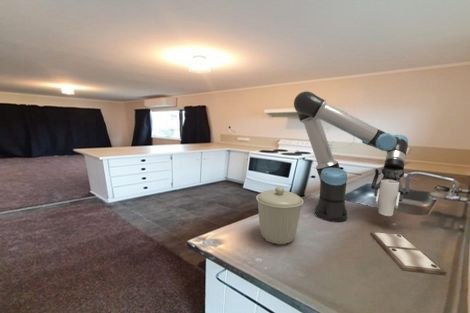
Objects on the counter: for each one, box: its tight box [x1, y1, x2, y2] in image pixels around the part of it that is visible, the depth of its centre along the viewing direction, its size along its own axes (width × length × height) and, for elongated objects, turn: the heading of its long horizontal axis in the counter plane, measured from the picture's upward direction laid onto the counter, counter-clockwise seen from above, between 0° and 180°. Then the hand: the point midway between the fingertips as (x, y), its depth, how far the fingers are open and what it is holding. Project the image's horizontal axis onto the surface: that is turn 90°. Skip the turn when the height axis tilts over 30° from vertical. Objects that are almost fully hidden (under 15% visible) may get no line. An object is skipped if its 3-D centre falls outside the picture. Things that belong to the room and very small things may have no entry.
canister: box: [255, 186, 304, 245], centre depth 86 cm, size 18×18×21 cm
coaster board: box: [369, 231, 447, 275], centre depth 79 cm, size 12×23×2 cm, turn 171°
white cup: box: [378, 179, 399, 217], centre depth 95 cm, size 7×7×15 cm
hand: (386, 204), depth 93 cm, fingers closed on white cup, 6 cm apart
